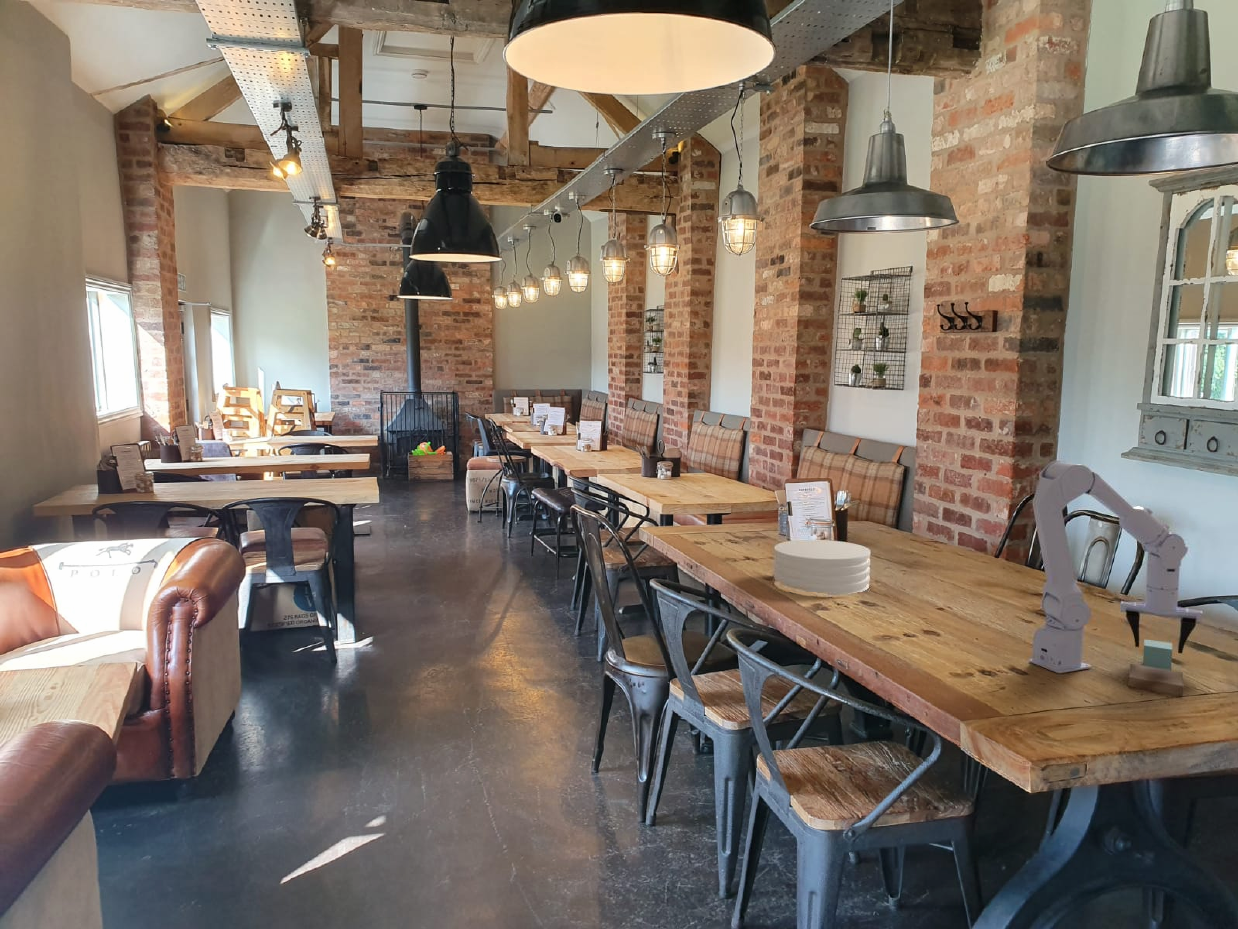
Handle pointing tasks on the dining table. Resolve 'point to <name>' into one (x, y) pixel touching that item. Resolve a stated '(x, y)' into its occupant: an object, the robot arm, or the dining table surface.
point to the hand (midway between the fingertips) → (1158, 648)
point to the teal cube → (1157, 654)
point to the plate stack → (822, 566)
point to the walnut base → (1156, 679)
